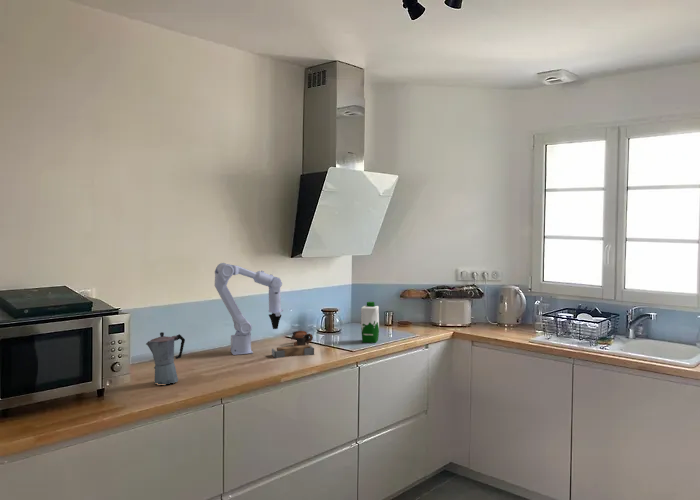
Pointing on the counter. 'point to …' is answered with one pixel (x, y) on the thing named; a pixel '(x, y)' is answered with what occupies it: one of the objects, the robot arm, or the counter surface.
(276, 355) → the cap
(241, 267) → the robot arm
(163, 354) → the moka pot
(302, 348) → the slat
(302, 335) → the pottery mug
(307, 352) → the cap
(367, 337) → the milk carton
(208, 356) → the counter surface
